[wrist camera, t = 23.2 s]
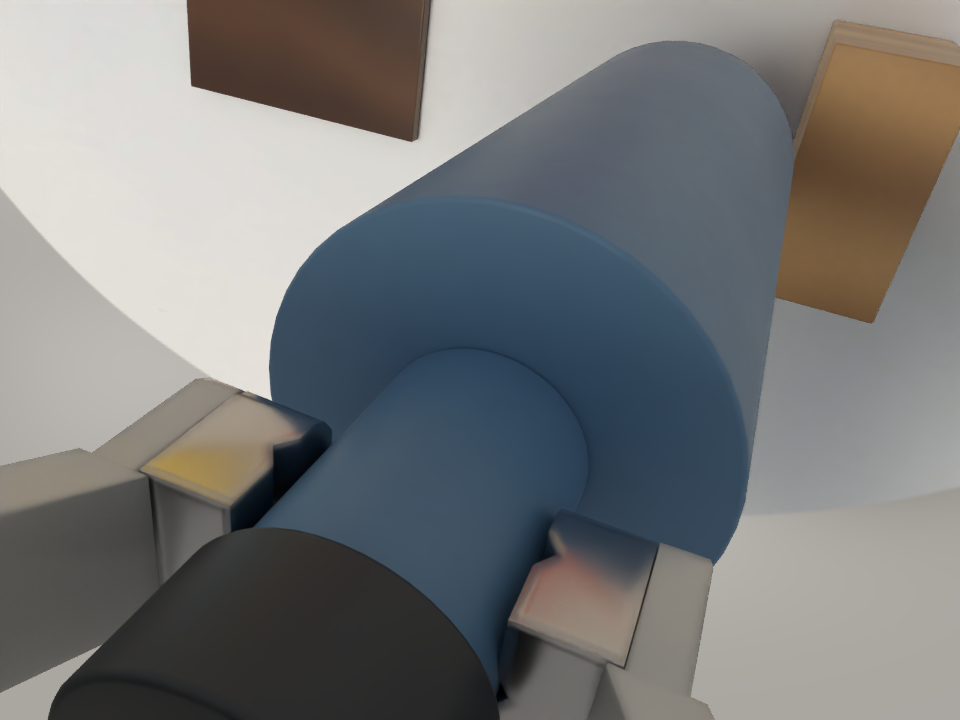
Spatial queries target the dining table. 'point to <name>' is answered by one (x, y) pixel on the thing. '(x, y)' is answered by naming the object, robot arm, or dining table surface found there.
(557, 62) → the dining table surface
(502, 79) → the dining table surface
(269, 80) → the coaster
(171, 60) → the dining table surface
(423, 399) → the bottle
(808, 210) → the prop block
